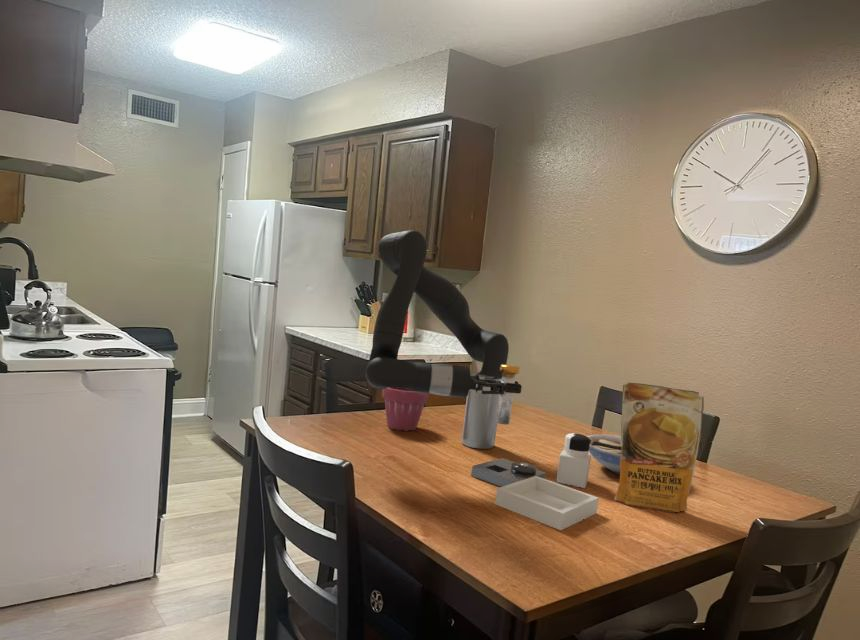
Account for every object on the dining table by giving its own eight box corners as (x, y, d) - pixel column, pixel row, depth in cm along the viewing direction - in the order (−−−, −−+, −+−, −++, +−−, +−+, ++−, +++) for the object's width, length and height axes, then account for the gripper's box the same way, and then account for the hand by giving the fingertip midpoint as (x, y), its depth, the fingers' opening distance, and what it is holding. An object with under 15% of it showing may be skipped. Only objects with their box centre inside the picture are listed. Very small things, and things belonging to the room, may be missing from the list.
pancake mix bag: (605, 493, 149) (621, 379, 147) (687, 506, 146) (704, 390, 144) (609, 503, 142) (625, 384, 140) (695, 517, 139) (713, 395, 137)
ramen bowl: (674, 472, 174) (678, 444, 173) (669, 495, 153) (673, 463, 153) (585, 453, 184) (589, 426, 184) (569, 471, 163) (573, 441, 163)
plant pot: (369, 424, 188) (373, 383, 187) (397, 419, 199) (401, 380, 198) (406, 436, 180) (411, 393, 179) (433, 429, 191) (438, 389, 190)
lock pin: (500, 419, 152) (507, 363, 151) (516, 424, 149) (523, 367, 148) (489, 421, 149) (496, 364, 148) (505, 426, 146) (512, 368, 145)
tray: (533, 490, 145) (535, 475, 144) (596, 513, 134) (598, 497, 134) (494, 504, 133) (496, 488, 132) (560, 530, 122) (562, 513, 122)
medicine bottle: (587, 480, 157) (593, 435, 156) (585, 489, 150) (591, 441, 149) (559, 475, 159) (565, 429, 158) (555, 482, 152) (562, 435, 152)
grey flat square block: (501, 467, 160) (503, 452, 159) (544, 482, 151) (546, 466, 151) (471, 475, 150) (473, 459, 150) (515, 492, 141) (518, 475, 141)
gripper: (453, 369, 140) (527, 377, 141) (447, 360, 154) (515, 367, 155) (449, 401, 141) (523, 409, 142) (444, 389, 155) (511, 396, 156)
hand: (519, 387), depth 149 cm, fingers closed on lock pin, 3 cm apart
